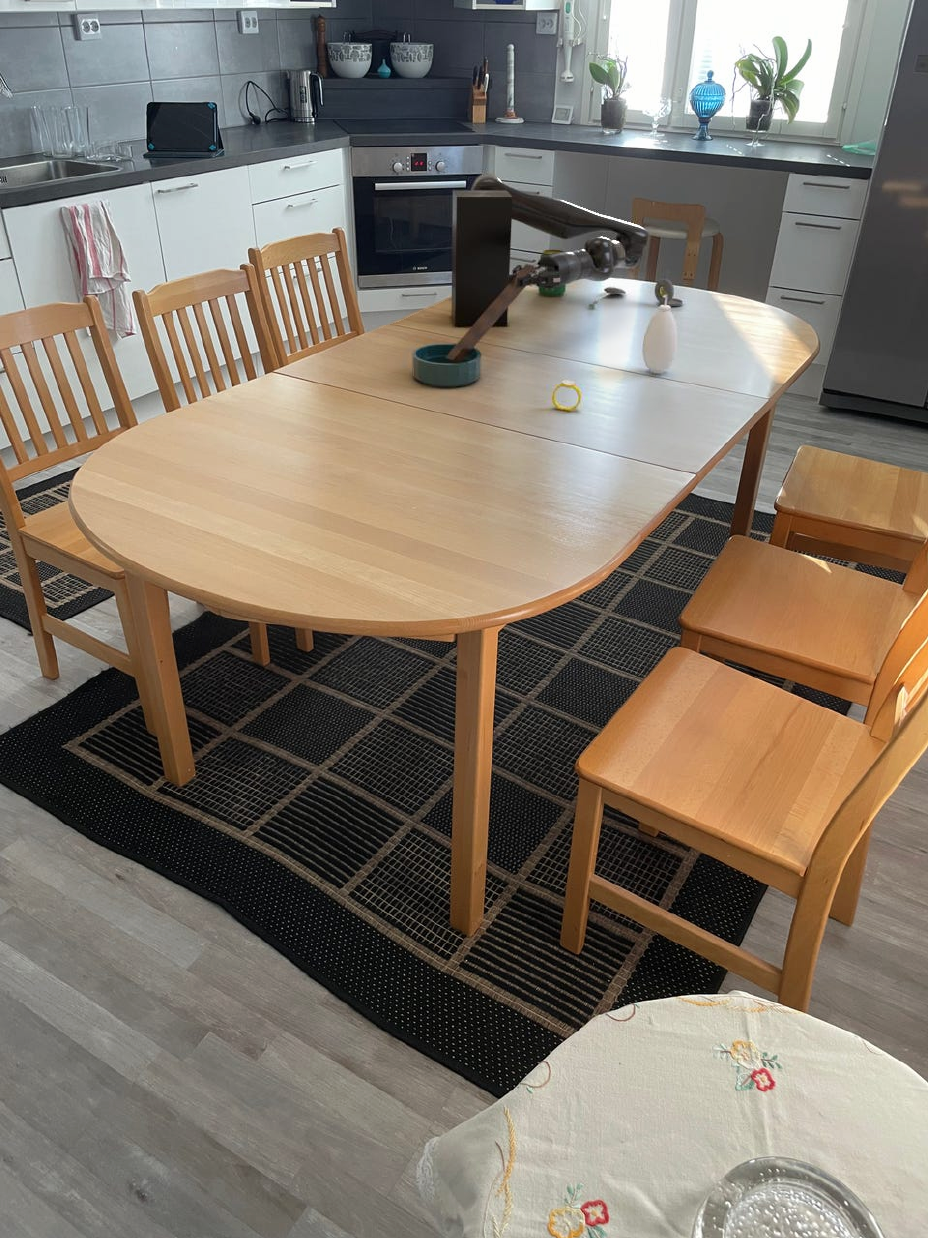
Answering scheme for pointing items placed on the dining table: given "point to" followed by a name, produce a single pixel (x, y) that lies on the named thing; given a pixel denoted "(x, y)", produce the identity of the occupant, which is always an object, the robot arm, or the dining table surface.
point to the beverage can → (557, 290)
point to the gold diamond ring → (568, 385)
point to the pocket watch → (666, 289)
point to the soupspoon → (609, 291)
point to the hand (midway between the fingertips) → (513, 281)
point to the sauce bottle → (660, 340)
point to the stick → (488, 318)
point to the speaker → (479, 253)
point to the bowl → (445, 366)
